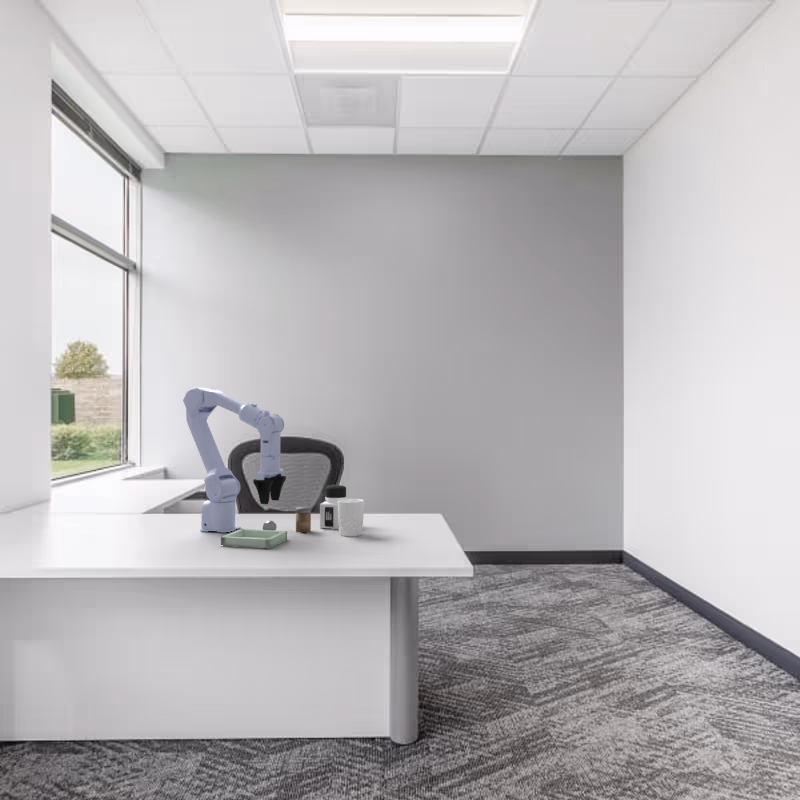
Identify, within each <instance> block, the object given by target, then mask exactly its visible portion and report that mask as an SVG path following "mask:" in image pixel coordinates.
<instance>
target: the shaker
mask: <svg viewBox="0 0 800 800" xmlns="http://www.w3.org/2000/svg"><path fill="white" fill-rule="evenodd" d="M311 514H312V507H310V506H297V507H295V532H296V533H298V532H302V533H301V534H304V533H303V532H307V533H310V532H311V530H312V528H311V526H312V525H311V524H312V519H311V518H312V517H311V516H312V515H311Z"/></svg>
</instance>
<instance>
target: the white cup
mask: <svg viewBox="0 0 800 800" xmlns="http://www.w3.org/2000/svg"><path fill="white" fill-rule="evenodd" d="M364 511H365V500H364V499H362V498H346V499H340V500H338V524H339V529H338V535H339V534H340V535H339V536H341V535H343V536H342V537H358V535H359V536H361V535H363V526H364Z"/></svg>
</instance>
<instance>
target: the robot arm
mask: <svg viewBox="0 0 800 800" xmlns="http://www.w3.org/2000/svg"><path fill="white" fill-rule="evenodd" d="M182 401H183V405H184V406H185V415H186V416H185V417H186V423H187V426H188V428H189V431H190V434H191V436H192V438H193V440H194V444H195V446H196V448H197V451H198V453H199V455H200V457H201V460H202V464H203V465H204V466H203V467H204V469H205V470H206V473H207V474H206V475H205V477H204V480H203V481H204V484H205V492H206V493H205V495H206V496H207V498H208V499H209V500H208V499H207V500H205V501H204V502H203V504H202V506H201V528H200V530H199V531H200V532H208V531H217V532H216V533H226V532H229V533H232V532H235V531H237V530H240V529H242V527H241V525H239V526H238V525H236V500H237V496H238V495H239V494H240V491H241V483H240V480H238V479H237V478H236V477H235V475H234V474H233V472H232V470H230V469H229V468H227V467H226V466H225V463H224V460H223V458H222V456H221V453H220V451H219V449H218V446H217V443H216V440H215V439H214V435H213V434H212V431H211V429H210V426H209V423H208V422H207V420H208V418H209V416H210V415H211V414H212V413H213V412H214V411H215V409H216V408H217V407H218V406H219V407H221V408H223V409H226V410H228V411H230V412H232V413H234V414H236V415H238V417H239V420H240V421H241V422H243V423H245V424H247V425H249V426H251V427H253V428H254V429H257V431H258V433H259V435H260V436H259V439H260V464H259V465H260V469H259V471H258V472H257V473H256V478H254V479H253V480H252V483H253V484H254V486H255V489H256V491H257V494H258V499H259V503H260V505H268V504H269V502H270V499H271V501H280V497H281V493H282V489H283V486H284V484H285V481H286V479H287V476H286V475H284V473H285V471H284V469H283V468H281V433H282V432H283V430H284V428H285V421H284V419H283V418H282V416H280V415H279V414H271V413H270V410H264V409H262V408H260V407H258V404H256V403H254V402H251V403H246V404H243V403H241V402H240V401H238V400H236V399H234V398H232V397H231V396H229V395H228V394H225V393H224V392H223V391H221V390H218V389H216V388H213V387H209V388H208V387H206V388H205V387H194V386H193V387H190V388H189V389H188V390H187V391H186V392H185V394H184V396H183V399H182ZM236 529H237V530H236ZM231 531H232V532H231Z"/></svg>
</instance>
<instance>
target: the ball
mask: <svg viewBox="0 0 800 800" xmlns="http://www.w3.org/2000/svg"><path fill="white" fill-rule="evenodd" d="M262 530H274V531H277V524H276V522H275V521H273V520H266V521H265V522H264V523H263V525H262Z"/></svg>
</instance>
